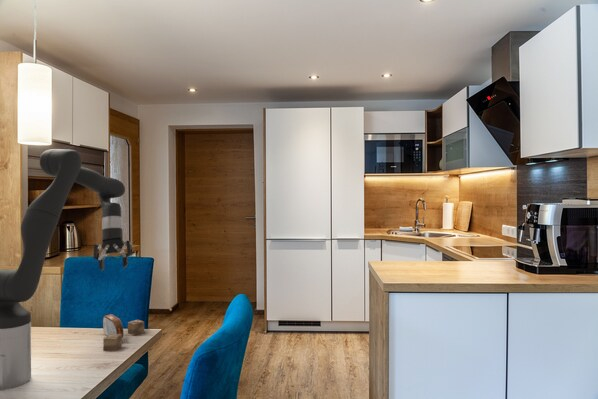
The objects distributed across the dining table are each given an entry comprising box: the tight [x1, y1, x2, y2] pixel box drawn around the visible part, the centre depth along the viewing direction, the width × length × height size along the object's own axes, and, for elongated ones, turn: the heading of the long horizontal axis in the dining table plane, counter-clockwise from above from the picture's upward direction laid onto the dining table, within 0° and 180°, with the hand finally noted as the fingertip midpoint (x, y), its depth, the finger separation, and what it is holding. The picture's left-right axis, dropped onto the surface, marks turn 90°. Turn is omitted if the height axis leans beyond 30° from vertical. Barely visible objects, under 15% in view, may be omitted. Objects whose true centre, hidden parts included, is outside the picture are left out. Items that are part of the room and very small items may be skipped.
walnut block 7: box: [127, 319, 145, 336], centre depth 162 cm, size 4×4×5 cm
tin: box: [102, 313, 124, 339], centre depth 156 cm, size 15×3×8 cm, turn 45°
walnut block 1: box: [102, 334, 123, 352], centre depth 145 cm, size 4×4×5 cm
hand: (113, 268), depth 159 cm, fingers open, 8 cm apart
